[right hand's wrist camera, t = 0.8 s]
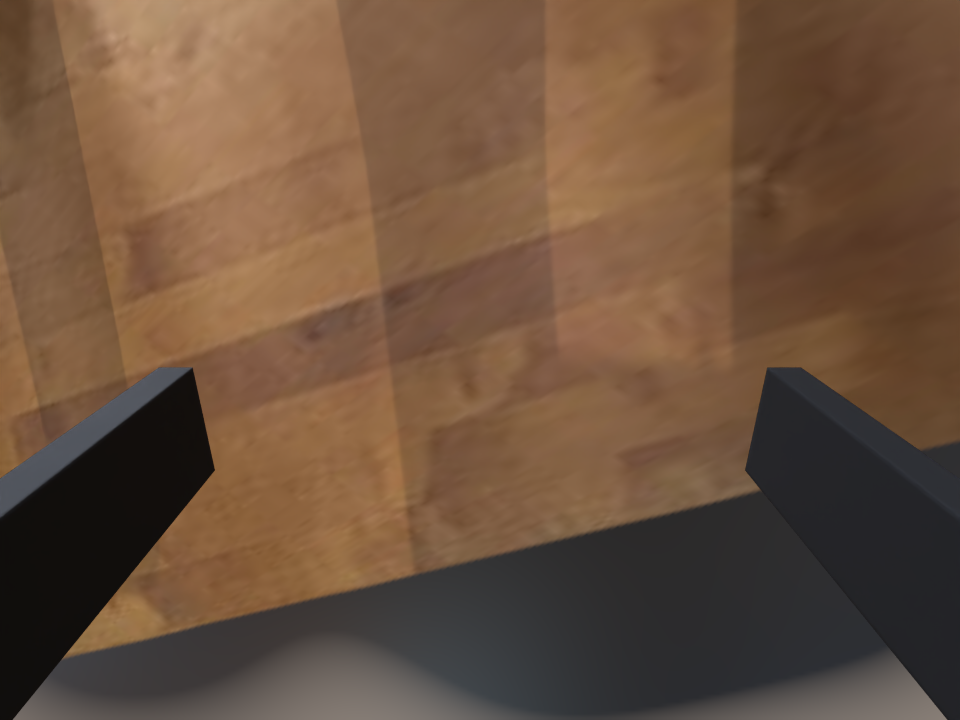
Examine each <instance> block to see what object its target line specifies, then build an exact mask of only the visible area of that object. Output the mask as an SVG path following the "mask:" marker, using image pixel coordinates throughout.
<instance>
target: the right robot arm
mask: <svg viewBox="0 0 960 720" xmlns="http://www.w3.org/2000/svg"><path fill="white" fill-rule="evenodd" d="M214 471H215V469H214V464H213V460H212V455H211V450H210V446H209V441H208V436H207V432H206V427H205V423H204V418H203V413H202V409H201V404H200V400H199V395H198V390H197V386H196V381H195V376H194V372H193V368H158V369H156V370H155V371H153V372H152V373H151V374H149V375H148V376H146V377H145V378H143V379H142V380H141V381H139V382H138V383H136V384H135V385H133V386H132V387H131V388H129V389H128V390H126V391H125V392H123V393H122V394H120V395H119V396H118V397H116V398H115V399H113V400H112V401H110V402H109V403H108V404H106V405H105V406H103V407H102V408H100V409H99V410H98V411H96V412H95V413H93V414H92V415H90V416H89V417H88V418H86V419H85V420H83V421H82V422H80V423H79V424H78V425H76V426H75V427H73V428H72V429H70V430H69V431H68V432H66V433H65V434H63V435H62V436H60V437H59V438H58V439H56V440H55V441H53V442H52V443H50V444H49V445H47V446H46V447H45V448H43V449H42V450H40V451H39V452H37V453H36V454H35V455H33V456H32V457H30V458H29V459H27V460H26V461H25V462H23V463H22V464H20V465H19V466H17V467H16V468H15V469H13V470H12V471H10V472H9V473H7V474H6V475H5V476H3V477H2V478H0V720H13V718H14V717H15V716H16V715H17V714H18V712H19V711H20V710H21V709H22V707H23V706H24V705H25V704H26V703H27V701H28V700H29V699H30V698H31V696H32V695H33V694H34V693H35V691H36V690H37V689H38V688H39V687H40V685H41V684H42V683H43V682H44V680H45V679H46V678H47V677H48V675H49V674H50V673H51V672H52V670H53V669H54V668H55V667H56V666H57V664H58V663H59V662H60V661H61V659H62V658H63V657H64V656H65V654H66V653H67V652H68V651H69V650H70V648H71V647H72V646H73V645H74V643H75V642H76V641H77V640H78V638H79V637H80V636H81V635H82V633H83V632H84V631H85V630H86V629H87V627H88V626H89V625H90V624H91V622H92V621H93V620H94V619H95V617H96V616H97V615H98V614H99V613H100V611H101V610H102V609H103V608H104V606H105V605H106V604H107V603H108V601H109V600H110V599H111V598H112V597H113V595H114V594H115V593H116V592H117V590H118V589H119V588H120V587H121V585H122V584H123V583H124V582H125V580H126V579H127V578H128V577H129V576H130V574H131V573H132V572H133V571H134V569H135V568H136V567H137V566H138V564H139V563H140V562H141V561H142V560H143V558H144V557H145V556H146V555H147V553H148V552H149V551H150V550H151V548H152V547H153V546H154V545H155V543H156V542H157V541H158V540H159V539H160V537H161V536H162V535H163V534H164V532H165V531H166V530H167V529H168V527H169V526H170V525H171V524H172V523H173V521H174V520H175V519H176V518H177V516H178V515H179V514H180V513H181V511H182V510H183V509H184V508H185V506H186V505H187V504H188V503H189V502H190V500H191V499H192V498H193V497H194V495H195V494H196V493H197V492H198V490H199V489H200V488H201V487H202V486H203V484H204V483H205V482H206V481H207V479H208V478H209V477H210V476H211V474H212V473H213V472H214ZM745 471H746V472H747V473H748V474H749V476H750V477H751V478H752V479H753V481H754V482H755V483H756V484H757V486H758V487H759V488H760V489H761V490H762V492H763V493H764V494H765V495H766V497H767V498H768V499H769V500H770V502H771V503H772V504H773V505H774V506H775V508H776V509H777V510H778V511H779V513H780V514H781V515H782V516H783V518H784V519H785V520H786V521H787V522H788V524H789V525H790V526H791V527H792V529H793V530H794V531H795V532H796V534H797V535H798V536H799V537H800V539H801V540H802V541H803V542H804V543H805V545H806V546H807V547H808V548H809V550H810V551H811V552H812V553H813V555H814V556H815V557H816V558H817V559H818V561H819V562H820V563H821V564H822V566H823V567H824V568H825V569H826V571H827V572H828V573H829V574H830V576H831V577H832V578H833V579H834V580H835V582H836V583H837V584H838V585H839V587H840V588H841V589H842V590H843V592H844V593H845V594H846V595H847V597H848V598H849V599H850V600H851V601H852V603H853V604H854V605H855V606H856V608H857V609H858V610H859V611H860V612H861V614H862V615H863V616H864V617H865V619H866V620H867V621H868V622H869V624H870V625H871V626H872V627H873V629H874V630H875V631H876V632H877V633H878V635H879V636H880V637H881V638H882V640H883V641H884V642H885V643H886V645H887V646H888V647H889V648H890V649H891V651H892V652H893V653H894V654H895V656H896V657H897V658H898V659H899V661H900V662H901V663H902V664H903V666H904V667H905V668H906V669H907V670H908V672H909V673H910V674H911V675H912V677H913V678H914V679H915V680H916V681H917V683H918V684H919V685H920V687H921V688H922V689H923V690H924V691H925V693H926V694H927V695H928V696H929V698H930V699H931V700H932V701H933V702H934V704H935V705H936V706H937V707H938V709H939V710H940V711H941V712H942V714H943V715H944V716H945V717H946V719H947V720H960V478H958V477H957V476H955V475H954V474H953V473H951V472H950V471H948V470H947V469H945V468H944V467H943V466H941V465H940V464H938V463H937V462H935V461H934V460H933V459H931V458H930V457H928V456H927V455H925V454H924V453H922V452H921V451H920V450H918V449H917V448H915V447H914V446H913V445H911V444H910V443H908V442H907V441H905V440H904V439H902V438H901V437H900V436H898V435H897V434H895V433H894V432H892V431H891V430H890V429H888V428H887V427H885V426H884V425H882V424H881V423H880V422H878V421H877V420H875V419H874V418H872V417H871V416H870V415H868V414H867V413H865V412H864V411H862V410H861V409H860V408H858V407H857V406H855V405H854V404H852V403H851V402H850V401H848V400H847V399H845V398H844V397H842V396H841V395H839V394H838V393H837V392H835V391H834V390H832V389H831V388H829V387H828V386H827V385H825V384H824V383H822V382H821V381H819V380H818V379H817V378H815V377H814V376H812V375H811V374H809V373H808V372H807V371H805V370H804V369H802V368H767V372H766V376H765V381H764V386H763V390H762V395H761V400H760V404H759V409H758V413H757V418H756V423H755V427H754V432H753V436H752V441H751V446H750V450H749V455H748V460H747V464H746V469H745Z"/></svg>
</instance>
